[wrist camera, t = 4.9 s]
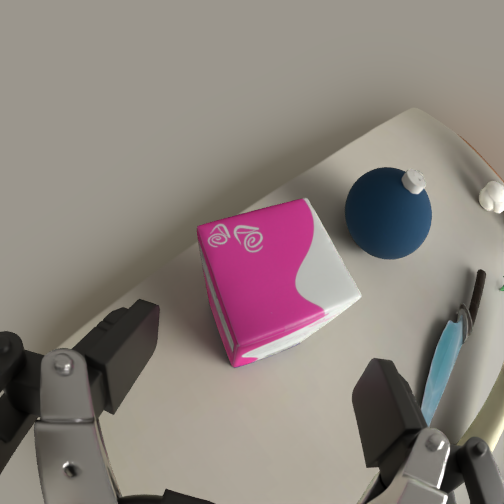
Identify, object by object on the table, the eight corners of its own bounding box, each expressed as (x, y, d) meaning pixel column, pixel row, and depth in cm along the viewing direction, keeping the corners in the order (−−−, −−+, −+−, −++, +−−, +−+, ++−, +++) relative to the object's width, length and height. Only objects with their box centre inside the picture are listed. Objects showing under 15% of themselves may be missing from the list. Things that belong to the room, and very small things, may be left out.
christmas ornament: (411, 236, 27) (464, 181, 18) (383, 290, 24) (450, 238, 15) (355, 190, 29) (392, 124, 20) (316, 235, 26) (357, 161, 17)
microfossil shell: (476, 190, 34) (494, 171, 29) (495, 211, 33) (513, 194, 28) (473, 202, 32) (492, 181, 27) (493, 224, 31) (513, 206, 26)
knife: (391, 427, 18) (419, 443, 17) (401, 429, 17) (430, 446, 16) (460, 254, 26) (480, 278, 26) (468, 249, 25) (489, 274, 24)
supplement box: (272, 279, 23) (311, 193, 13) (300, 344, 21) (369, 302, 11) (206, 300, 22) (193, 221, 12) (231, 369, 20) (240, 356, 9)
